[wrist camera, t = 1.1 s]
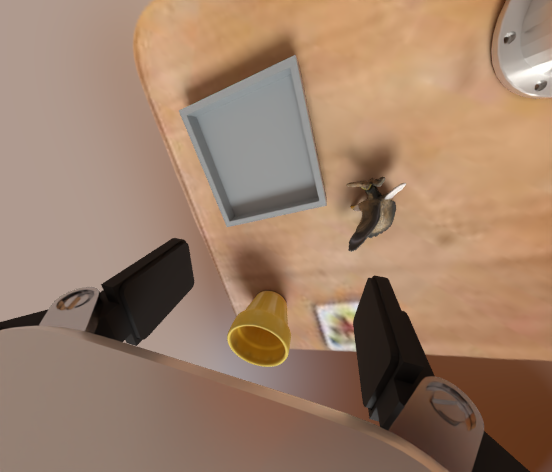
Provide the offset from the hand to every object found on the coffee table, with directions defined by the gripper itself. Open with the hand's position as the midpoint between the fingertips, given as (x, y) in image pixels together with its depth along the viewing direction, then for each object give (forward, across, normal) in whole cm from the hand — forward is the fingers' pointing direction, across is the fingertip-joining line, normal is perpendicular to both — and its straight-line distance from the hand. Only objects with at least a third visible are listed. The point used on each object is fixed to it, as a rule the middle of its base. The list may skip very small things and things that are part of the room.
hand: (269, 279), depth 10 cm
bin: (+22, +7, -4) cm, 23 cm away
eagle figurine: (+22, -9, +2) cm, 24 cm away
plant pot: (+22, +4, +24) cm, 33 cm away
